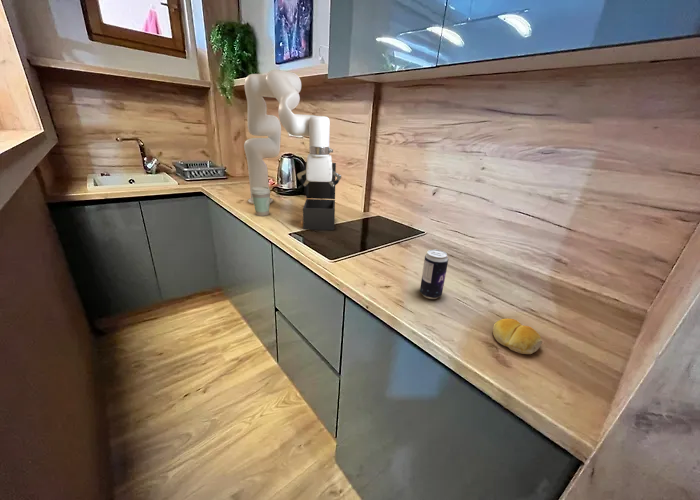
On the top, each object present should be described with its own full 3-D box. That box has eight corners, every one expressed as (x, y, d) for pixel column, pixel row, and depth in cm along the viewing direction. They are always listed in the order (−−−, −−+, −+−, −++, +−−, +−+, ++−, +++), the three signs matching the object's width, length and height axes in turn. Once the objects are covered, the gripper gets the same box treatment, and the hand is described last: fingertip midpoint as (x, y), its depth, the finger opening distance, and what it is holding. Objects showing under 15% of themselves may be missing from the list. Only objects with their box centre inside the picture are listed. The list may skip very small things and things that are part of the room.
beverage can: (437, 303, 76) (445, 260, 72) (416, 296, 79) (422, 254, 74) (444, 293, 81) (451, 252, 76) (423, 287, 83) (429, 247, 79)
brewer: (334, 230, 124) (334, 209, 120) (303, 229, 123) (302, 208, 120) (334, 218, 138) (335, 199, 135) (306, 218, 137) (306, 198, 134)
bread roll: (503, 323, 70) (507, 308, 68) (544, 345, 63) (550, 329, 61) (482, 335, 65) (487, 320, 64) (524, 361, 58) (530, 344, 57)
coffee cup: (269, 217, 136) (267, 190, 131) (250, 216, 136) (247, 189, 131) (274, 211, 144) (272, 186, 139) (256, 211, 144) (254, 185, 139)
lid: (335, 163, 124) (335, 162, 125) (304, 162, 123) (305, 161, 124) (335, 199, 134) (335, 198, 135) (306, 198, 133) (306, 197, 134)
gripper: (342, 151, 119) (340, 194, 126) (297, 149, 118) (298, 193, 125) (342, 153, 112) (340, 199, 119) (295, 151, 111) (296, 197, 118)
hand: (319, 195), depth 122 cm, fingers open, 9 cm apart
